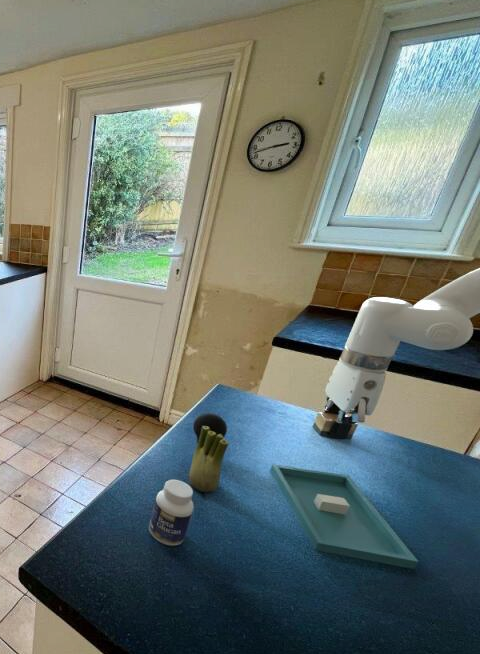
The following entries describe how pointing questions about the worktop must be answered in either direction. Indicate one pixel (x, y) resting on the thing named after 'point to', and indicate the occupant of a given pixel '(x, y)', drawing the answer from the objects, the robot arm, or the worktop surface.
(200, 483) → the fennel bulb
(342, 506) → the chalk
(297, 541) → the worktop surface
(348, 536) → the tray
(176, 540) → the pill bottle
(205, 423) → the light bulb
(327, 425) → the eraser
